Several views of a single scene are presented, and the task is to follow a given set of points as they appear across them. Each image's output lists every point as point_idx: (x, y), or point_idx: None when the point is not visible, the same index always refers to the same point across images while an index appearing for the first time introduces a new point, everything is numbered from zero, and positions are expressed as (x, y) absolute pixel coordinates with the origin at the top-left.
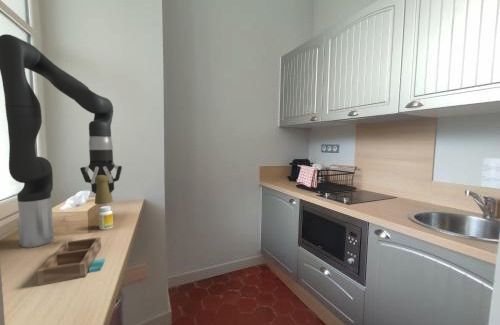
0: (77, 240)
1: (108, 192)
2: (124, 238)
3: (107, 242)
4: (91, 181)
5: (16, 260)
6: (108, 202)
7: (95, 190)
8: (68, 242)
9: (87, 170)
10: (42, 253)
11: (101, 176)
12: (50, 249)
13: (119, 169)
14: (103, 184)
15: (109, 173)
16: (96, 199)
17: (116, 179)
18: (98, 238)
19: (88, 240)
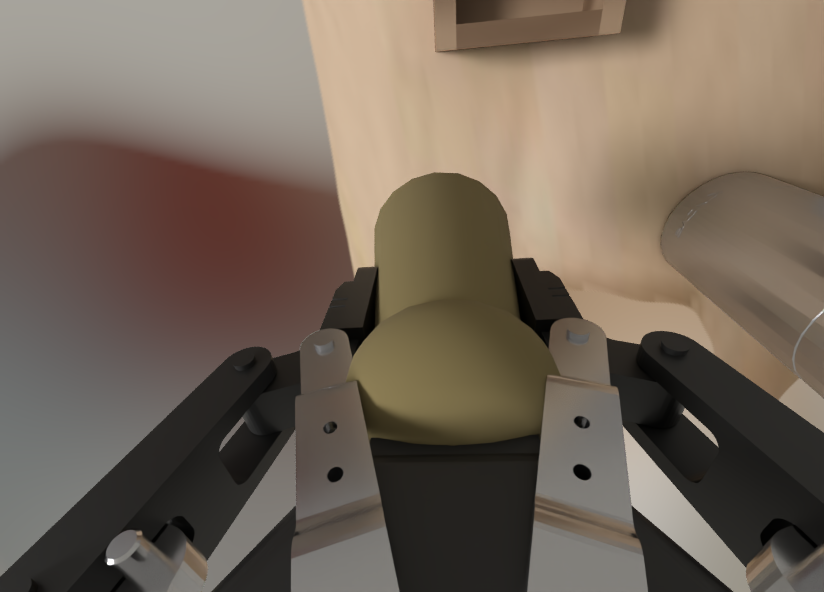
0: (555, 34)
1: (384, 252)
2: (353, 152)
3: (422, 122)
4: (600, 340)
5: (806, 13)
6: (393, 195)
7: (518, 269)
8: (600, 11)
9: (799, 575)
10: (697, 73)
11: (446, 375)
12: (665, 118)
13: (64, 544)
14: (423, 289)
15: (297, 443)
16: (493, 209)
17: (242, 358)
18: (442, 27)
19: (494, 20)
